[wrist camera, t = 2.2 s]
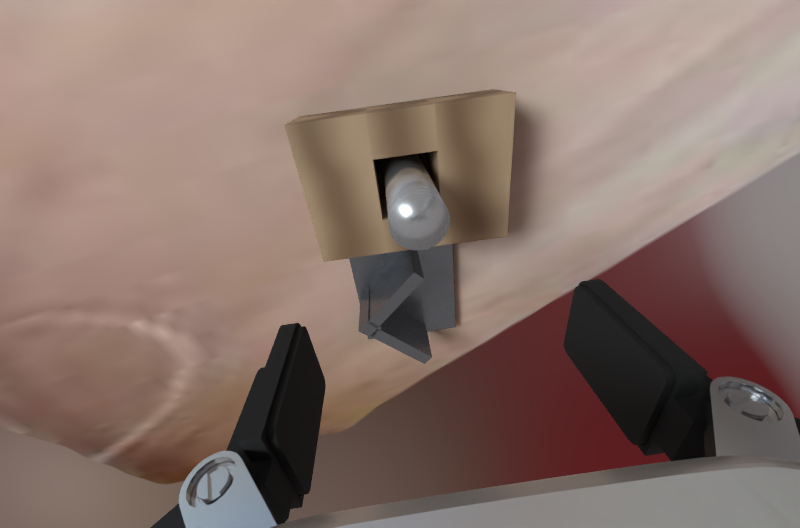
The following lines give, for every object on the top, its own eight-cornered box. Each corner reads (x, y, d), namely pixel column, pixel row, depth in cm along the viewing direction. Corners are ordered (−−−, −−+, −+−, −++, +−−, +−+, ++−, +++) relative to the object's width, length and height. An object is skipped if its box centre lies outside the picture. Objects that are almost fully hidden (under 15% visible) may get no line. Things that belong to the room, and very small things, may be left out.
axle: (421, 146, 28) (448, 189, 18) (424, 186, 30) (450, 246, 19) (381, 152, 28) (384, 198, 18) (386, 192, 30) (393, 254, 19)
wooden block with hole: (492, 89, 26) (516, 92, 22) (489, 214, 32) (507, 236, 27) (299, 116, 26) (284, 125, 22) (330, 236, 32) (323, 261, 27)
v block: (453, 321, 39) (465, 359, 33) (368, 333, 39) (367, 373, 33) (450, 233, 32) (464, 263, 27) (348, 247, 32) (343, 280, 27)
